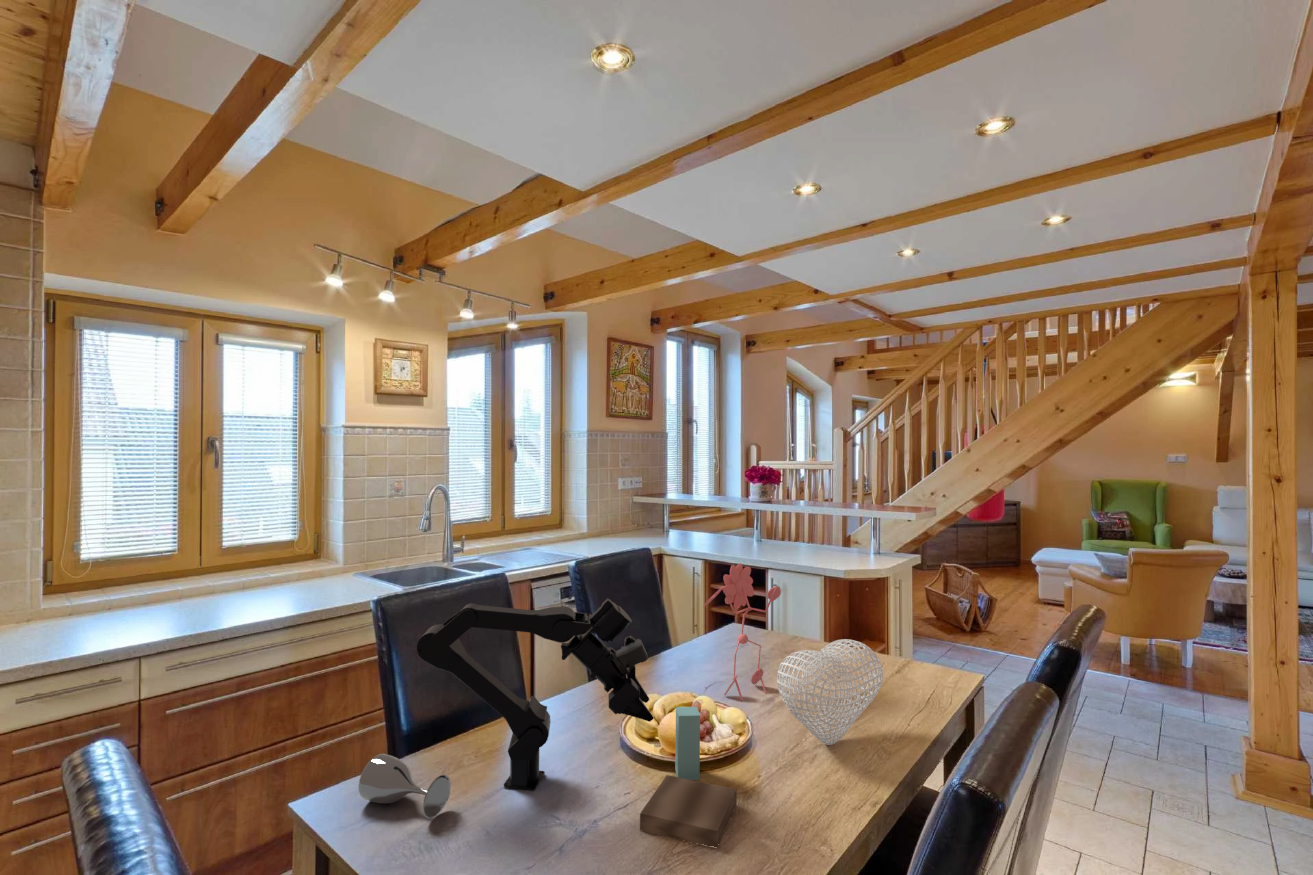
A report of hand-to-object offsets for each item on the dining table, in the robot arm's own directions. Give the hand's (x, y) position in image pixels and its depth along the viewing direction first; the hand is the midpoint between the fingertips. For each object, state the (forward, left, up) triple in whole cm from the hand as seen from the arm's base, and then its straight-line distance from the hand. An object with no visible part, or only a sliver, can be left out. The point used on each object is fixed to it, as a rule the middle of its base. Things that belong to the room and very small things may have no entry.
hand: (649, 710), depth 131 cm
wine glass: (-20, +36, -10) cm, 42 cm away
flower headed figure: (+50, -17, -14) cm, 54 cm away
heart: (+21, -38, -14) cm, 46 cm away
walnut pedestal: (-13, -10, -13) cm, 21 cm away
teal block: (+2, -8, -13) cm, 16 cm away
